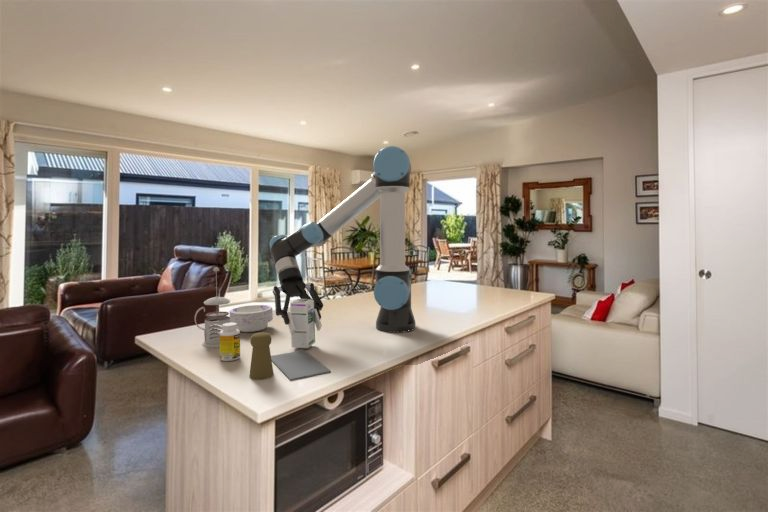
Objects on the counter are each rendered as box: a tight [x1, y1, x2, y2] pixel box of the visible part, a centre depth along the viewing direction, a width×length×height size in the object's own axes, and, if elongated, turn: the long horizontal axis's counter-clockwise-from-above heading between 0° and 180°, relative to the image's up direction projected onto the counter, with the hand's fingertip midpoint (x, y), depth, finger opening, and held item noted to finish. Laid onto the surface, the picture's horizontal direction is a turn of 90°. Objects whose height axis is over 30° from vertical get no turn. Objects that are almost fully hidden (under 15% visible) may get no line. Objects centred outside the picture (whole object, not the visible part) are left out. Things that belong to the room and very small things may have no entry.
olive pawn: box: [249, 331, 275, 381], centre depth 100 cm, size 6×6×11 cm
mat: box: [271, 349, 332, 382], centre depth 108 cm, size 20×11×1 cm, turn 32°
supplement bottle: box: [219, 322, 241, 362], centre depth 113 cm, size 6×6×10 cm
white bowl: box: [228, 304, 274, 333], centre depth 145 cm, size 15×15×8 cm
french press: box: [194, 266, 231, 348], centre depth 127 cm, size 10×12×25 cm
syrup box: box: [289, 298, 316, 349], centre depth 123 cm, size 6×6×14 cm
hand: (306, 330), depth 120 cm, fingers closed on syrup box, 8 cm apart
